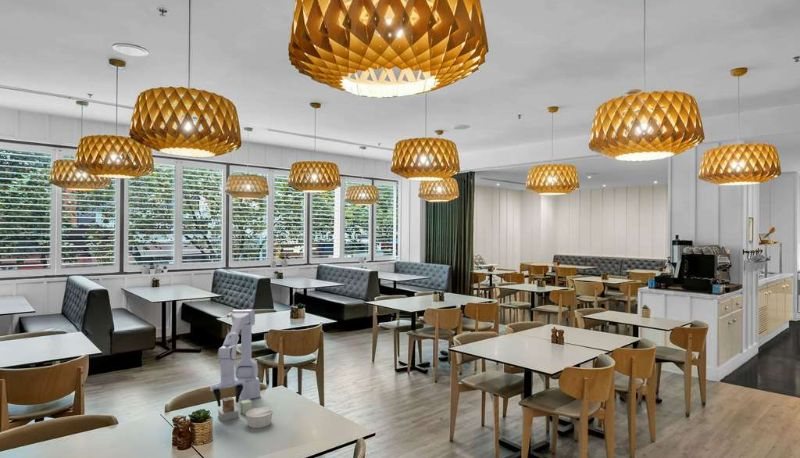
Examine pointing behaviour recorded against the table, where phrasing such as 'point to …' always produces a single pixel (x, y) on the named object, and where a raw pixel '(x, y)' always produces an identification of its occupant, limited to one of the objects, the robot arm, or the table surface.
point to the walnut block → (228, 404)
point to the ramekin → (259, 417)
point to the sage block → (245, 406)
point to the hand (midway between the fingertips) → (228, 404)
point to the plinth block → (228, 414)
